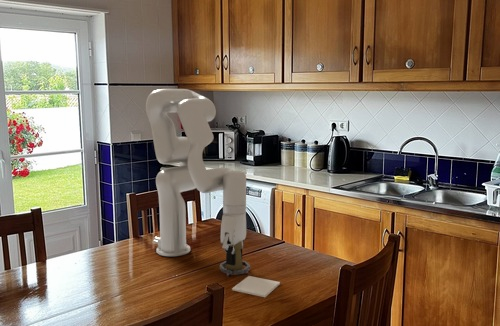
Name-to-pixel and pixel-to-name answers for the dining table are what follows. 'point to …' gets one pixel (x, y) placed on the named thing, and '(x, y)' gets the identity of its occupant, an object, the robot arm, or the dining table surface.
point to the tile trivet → (256, 286)
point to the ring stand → (229, 271)
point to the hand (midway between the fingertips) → (234, 261)
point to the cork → (238, 258)
